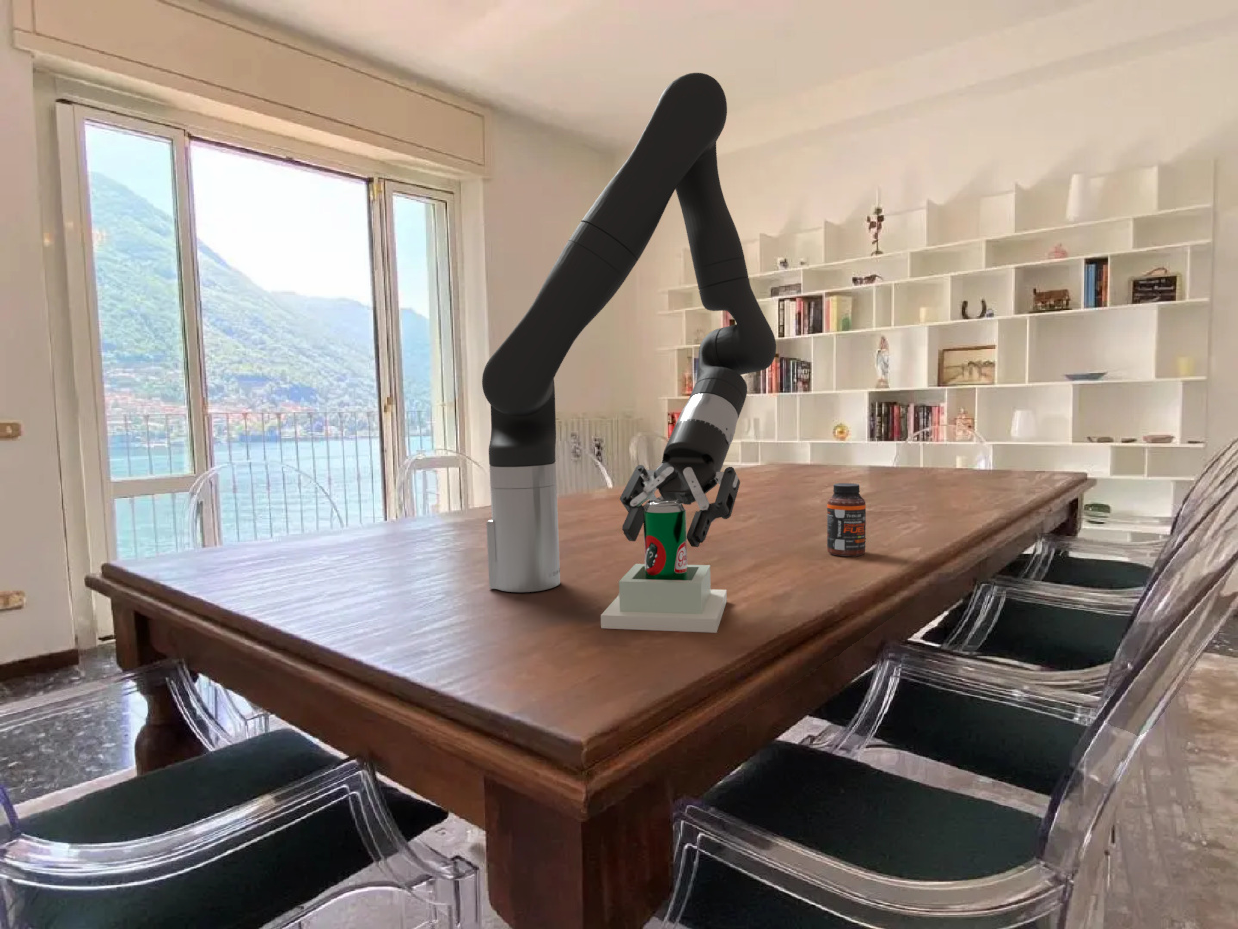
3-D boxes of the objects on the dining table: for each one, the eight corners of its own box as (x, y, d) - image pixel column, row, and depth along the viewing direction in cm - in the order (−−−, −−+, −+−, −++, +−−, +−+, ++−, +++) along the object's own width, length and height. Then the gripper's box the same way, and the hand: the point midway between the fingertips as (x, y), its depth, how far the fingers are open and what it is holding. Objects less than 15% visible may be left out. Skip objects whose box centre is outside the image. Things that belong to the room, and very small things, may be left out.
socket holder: (601, 628, 85) (599, 584, 85) (626, 598, 98) (624, 560, 97) (716, 632, 82) (715, 587, 82) (726, 601, 95) (726, 562, 94)
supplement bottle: (845, 559, 117) (845, 487, 116) (819, 553, 123) (818, 484, 122) (873, 554, 120) (873, 484, 119) (846, 548, 125) (846, 481, 125)
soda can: (686, 607, 87) (683, 504, 86) (642, 606, 88) (639, 504, 87) (690, 596, 92) (687, 498, 91) (649, 595, 93) (646, 499, 92)
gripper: (643, 418, 98) (595, 517, 89) (744, 416, 90) (703, 525, 82) (664, 455, 103) (621, 553, 94) (762, 456, 95) (725, 563, 86)
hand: (659, 540), depth 88 cm, fingers open, 8 cm apart
